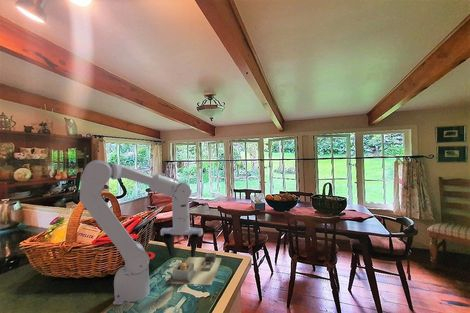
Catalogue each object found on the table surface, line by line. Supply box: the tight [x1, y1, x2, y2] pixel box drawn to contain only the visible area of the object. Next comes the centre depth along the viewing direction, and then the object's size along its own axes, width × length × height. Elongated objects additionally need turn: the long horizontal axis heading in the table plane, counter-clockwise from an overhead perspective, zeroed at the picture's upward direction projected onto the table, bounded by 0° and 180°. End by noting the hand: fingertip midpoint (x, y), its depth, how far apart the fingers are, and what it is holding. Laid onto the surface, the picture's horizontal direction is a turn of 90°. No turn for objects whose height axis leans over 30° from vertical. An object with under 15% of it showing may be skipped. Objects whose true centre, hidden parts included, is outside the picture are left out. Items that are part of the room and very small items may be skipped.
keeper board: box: [170, 252, 223, 286], centre depth 81 cm, size 14×18×3 cm
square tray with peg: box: [170, 262, 196, 283], centre depth 76 cm, size 6×6×5 cm
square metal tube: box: [172, 262, 194, 281], centre depth 76 cm, size 6×6×3 cm
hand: (182, 255), depth 76 cm, fingers open, 7 cm apart
